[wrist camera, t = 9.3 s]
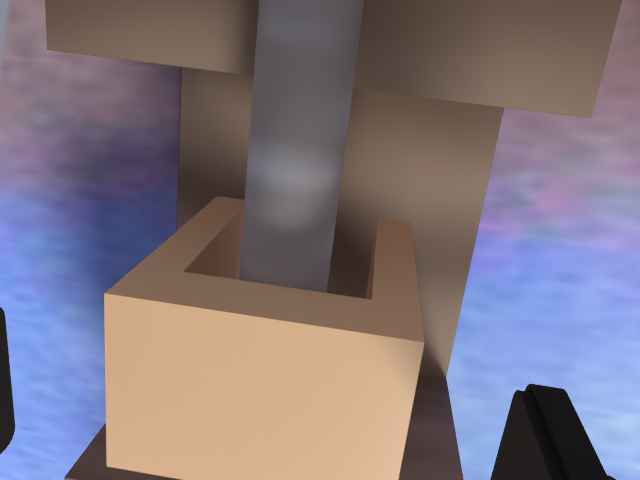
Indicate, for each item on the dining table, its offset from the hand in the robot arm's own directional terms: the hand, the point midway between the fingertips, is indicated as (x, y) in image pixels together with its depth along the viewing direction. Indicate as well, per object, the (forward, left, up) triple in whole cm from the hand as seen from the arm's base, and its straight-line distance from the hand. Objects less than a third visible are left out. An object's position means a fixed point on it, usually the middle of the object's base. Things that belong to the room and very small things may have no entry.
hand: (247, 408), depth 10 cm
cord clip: (+1, 0, -8) cm, 8 cm away
